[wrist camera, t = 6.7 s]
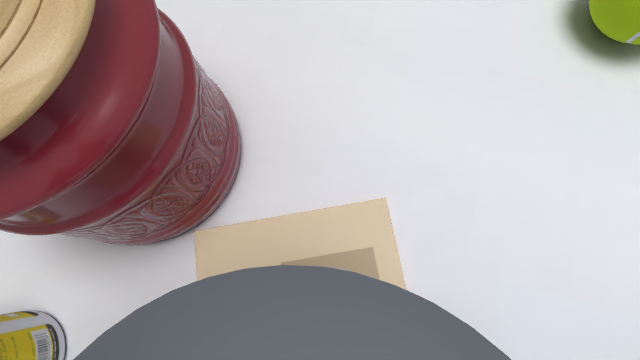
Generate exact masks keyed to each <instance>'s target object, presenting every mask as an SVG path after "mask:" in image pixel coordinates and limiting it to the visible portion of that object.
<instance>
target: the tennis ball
mask: <svg viewBox="0 0 640 360" xmlns="http://www.w3.org/2000/svg"><path fill="white" fill-rule="evenodd" d="M589 10H590V15H591V17H592V20H593V22H594V24H595V25H596V27H597V28H598V29H599V30H600V31H601V32H602V33H603V34H605V35H606V36H608V37H609V38H611V39H613V40H616V41H619V42H622V43H630V44H640V0H589Z"/></svg>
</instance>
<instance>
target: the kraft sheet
mask: <svg viewBox="0 0 640 360" xmlns="http://www.w3.org/2000/svg"><path fill="white" fill-rule="evenodd" d="M194 235H195V250H196V265H197V281H199V280H202V279H204V278H207V277H211V276H215V275H219V274H224V273H228V272H232V271H236V270H241V269H245V268H256V267H266V266H277V265H297V266H322V267H333V268H339V269H344V270H350V271H354V272H357V273H360V274H363V275H366V276H369V277H372V278H375V279H378V280H381V281H384V282H387V283H390V284H393V285H396V286H398V287H400V288H403V289H405V290H406V286H405V281H404V277H403V272H402V268H401V263H400V259H399V254H398V250H397V245H396V241H395V236H394V232H393V227H392V223H391V218H390V214H389V209H388V205H387V200H386V198H381V199H376V200H370V201H364V202H358V203H353V204H347V205H341V206H335V207H330V208H324V209H318V210H312V211H307V212H301V213H295V214H289V215H284V216H278V217H272V218H266V219H261V220H255V221H249V222H244V223H238V224H232V225H226V226H221V227H215V228H209V229H203V230H198V231H194Z"/></svg>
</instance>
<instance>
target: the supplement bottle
mask: <svg viewBox="0 0 640 360" xmlns="http://www.w3.org/2000/svg"><path fill="white" fill-rule="evenodd" d="M64 354H65V339H64V335H63V332H62V330H61V328H60V326H59V324H58V323H57V322H56V321H55V320H54V319H53V318H52V317H50V316H49V315H47V314H45V313H42V312H38V311H22V312H15V313H8V314H2V315H0V360H63V359H64Z"/></svg>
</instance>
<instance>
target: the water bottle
mask: <svg viewBox="0 0 640 360" xmlns="http://www.w3.org/2000/svg"><path fill="white" fill-rule="evenodd" d="M74 360H511V359H510V358H509V357H508V356H507V355H506V354H504V353H503V352H502V351H501V350H499V349H498V348H497V347H496V346H494V345H493V344H492V343H491V342H490V341H488V340H487V339H486V338H485V337H483V336H482V335H481V334H480V333H478V332H477V331H476V330H475V329H474V328H472V327H471V326H469V325H468V324H466V323H465V322H463V321H461V320H460V319H458V318H457V317H455V316H453V315H452V314H450V313H449V312H447V311H446V310H444V309H442V308H441V307H439V306H438V305H436V304H434V303H432V302H430V301H428V300H426V299H424V298H422V297H420V296H418V295H415V294H413V293H411V292H409V291H407V290H405V289H403V288H400V287H398V286H396V285H393V284H390V283H387V282H384V281H381V280H378V279H375V278H372V277H369V276H366V275H363V274H360V273H357V272H354V271H350V270H344V269H339V268H333V267H322V266H297V265H277V266H266V267H256V268H245V269H241V270H236V271H232V272H228V273H224V274H219V275H215V276H211V277H207V278H204V279H202V280H199V281H196V282H194V283H191V284H189V285H186V286H183V287H181V288H178V289H175V290H173V291H171V292H169V293H167V294H165V295H163V296H161V297H159V298H157V299H156V300H154V301H152V302H150V303H148V304H146V305H144V306H142V307H141V308H139V309H137V310H135V311H134V312H133V313H131V314H130V315H128V316H127V317H125V318H124V319H123V320H121V321H120V322H118V323H117V324H115V325H114V326H113V327H111V328H110V329H108V330H107V331H105V332H104V333H103V334H102V335H101V336H99V337H98V338H97V339H96V340H95V341H94V342H93V343H92V344H90V345H89V346H88V347H87V348H86V349H85V350H84V351H83V352H81V353H80V354H79V355H78V356H77V357H76V358H75V359H74Z"/></svg>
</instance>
